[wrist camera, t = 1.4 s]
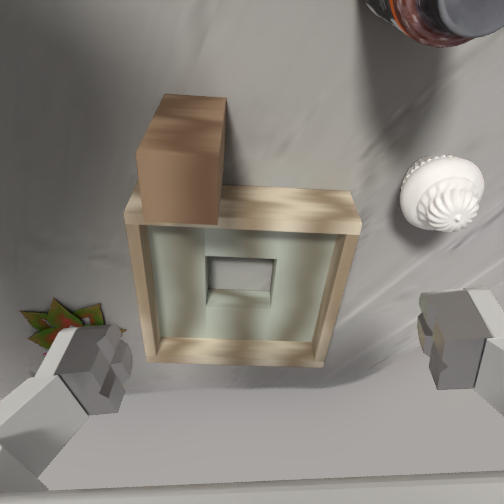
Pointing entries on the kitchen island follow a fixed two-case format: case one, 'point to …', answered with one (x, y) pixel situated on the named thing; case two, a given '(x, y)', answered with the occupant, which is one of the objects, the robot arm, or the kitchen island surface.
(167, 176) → the peg
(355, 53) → the kitchen island surface
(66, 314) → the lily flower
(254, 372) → the kitchen island surface
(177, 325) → the peg box
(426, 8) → the supplement bottle
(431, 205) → the white ribbed rounded lump
